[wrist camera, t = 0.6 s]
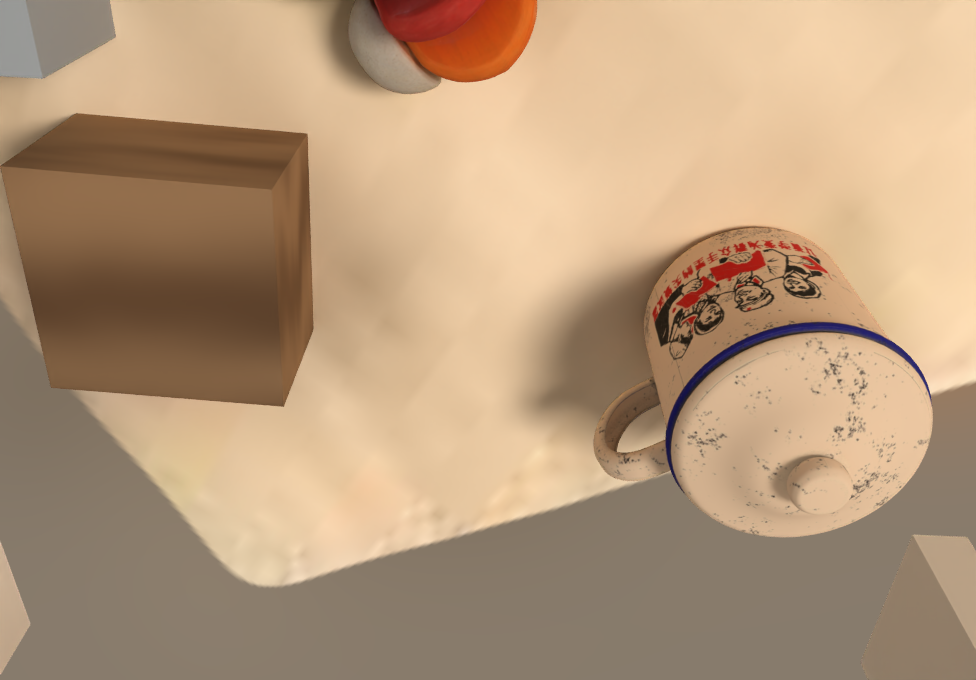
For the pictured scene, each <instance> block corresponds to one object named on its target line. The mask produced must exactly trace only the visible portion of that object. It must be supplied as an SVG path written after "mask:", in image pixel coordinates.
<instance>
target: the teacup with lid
mask: <svg viewBox="0 0 976 680" xmlns="http://www.w3.org/2000/svg"><path fill="white" fill-rule="evenodd" d="M644 337H645V342H646V347H647V351H648V355H649V359H650V363H651V367H652V371H653V375H654V376H653V377H652V378H650V379H648V380H646V381H644V382H642V383H639V384H638V385H636V386H634V387H632V388H630V389H629V390H627V391H626V392H624V393H623V394H621V395H620V396H619V397H618V398H617V399H615V400H614V401H613V402H612V403H611V405H610V406H609V407H608V408H607V409H606V411H605V412H604V414H603V415H602V417H601V419H600V421H599V423H598V425H597V428H596V431H595V435H594V452H595V456H596V458H597V460H598V462H599V463H600V465H601V466H602V468H603V469H604V471H605V472H606V473H608V474H609V475H610V476H612V477H614V478H617V479H620V480H625V481H639V480H645V479H648V478H652V477H655V476H658V475H660V474H663V473H665V472H668V471H670V470H671V473H672V475H673V477H674V479H675V481H676V483H677V484H678V486H679V487H680V489H681V490H682V491H683V492H684V493H685V495H686V496H687V497H688V498H689V499H690V500H691V501H692V503H693V504H694V505H696V506H697V507H698V508H699V509H700V510H701V511H703V512H704V513H705V514H707V515H708V516H709V517H711V518H713V519H714V520H716V521H718V522H720V523H722V524H724V525H726V526H728V527H731V528H733V529H736V530H739V531H742V532H746V533H750V534H755V535H760V536H769V537H798V536H807V535H813V534H818V533H823V532H826V531H830V530H833V529H836V528H840V527H842V526H845V525H848V524H850V523H852V522H854V521H857V520H859V519H861V518H863V517H865V516H866V515H868V514H870V513H872V512H873V511H875V510H876V509H878V508H879V507H881V506H882V505H883V504H885V503H886V502H887V501H889V500H890V499H891V498H892V497H893V496H894V495H896V494H897V493H898V492H899V491H900V490H901V489H902V488H903V487H904V485H905V484H906V483H907V482H908V481H909V480H910V478H911V477H912V476H913V474H914V473H915V471H916V470H917V468H918V467H919V465H920V463H921V461H922V459H923V457H924V455H925V452H926V450H927V447H928V444H929V440H930V436H931V430H932V423H933V414H932V413H933V412H932V403H931V395H930V391H929V388H928V384H927V382H926V380H925V378H924V375H923V374H922V372H921V370H920V369H919V367H918V366H917V364H916V363H915V362H914V361H913V359H912V358H911V357H910V356H909V355H908V354H907V353H906V352H905V351H904V350H903V349H902V348H900V347H899V346H898V345H896V344H895V343H894V342H892V341H890V340H889V338H888V337H887V335H886V334H885V333H884V331H883V330H882V328H881V327H880V325H879V324H878V323H877V321H876V320H875V318H874V317H873V316H872V314H871V313H870V311H869V310H868V309H867V307H866V306H865V304H864V303H863V302H862V300H861V299H860V297H859V296H858V295H857V293H856V292H855V290H854V289H853V287H852V286H851V285H850V283H849V282H848V280H847V279H846V278H845V276H844V275H843V273H842V272H841V271H840V269H839V268H838V266H837V265H836V264H835V262H834V261H833V260H832V259H831V257H830V256H829V255H828V254H827V253H826V252H825V251H824V250H823V249H821V248H820V247H819V246H817V245H816V244H815V243H813V242H811V241H810V240H808V239H806V238H804V237H802V236H800V235H797V234H794V233H791V232H788V231H784V230H779V229H772V228H744V229H737V230H733V231H728V232H725V233H721V234H718V235H715V236H713V237H711V238H708V239H706V240H704V241H702V242H700V243H698V244H696V245H695V246H693V247H692V248H690V249H688V250H687V251H686V252H684V253H683V254H682V255H681V256H679V257H678V258H677V259H676V260H675V261H674V262H673V263H672V264H671V265H670V266H669V267H668V268H667V269H666V270H665V272H664V273H663V274H662V276H661V277H660V278H659V280H658V282H657V283H656V285H655V286H654V288H653V290H652V293H651V295H650V297H649V300H648V303H647V306H646V310H645V317H644ZM659 404H661V408H662V412H663V416H664V420H665V424H666V428H667V430H666V440H663V441H661V442H659V443H656V444H654V445H652V446H649V447H647V448H644V449H641V450H638V451H635V452H629V453H620V452H617V447H618V443H619V440H620V438H621V436H622V434H623V432H624V431H625V429H626V428H627V427H628V425H629V424H630V423H631V422H632V421H633V420H634V419H635V418H637V417H638V416H639V415H641V414H642V413H644V412H646V411H647V410H649V409H651V408H653V407H655V406H657V405H659Z"/></svg>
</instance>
